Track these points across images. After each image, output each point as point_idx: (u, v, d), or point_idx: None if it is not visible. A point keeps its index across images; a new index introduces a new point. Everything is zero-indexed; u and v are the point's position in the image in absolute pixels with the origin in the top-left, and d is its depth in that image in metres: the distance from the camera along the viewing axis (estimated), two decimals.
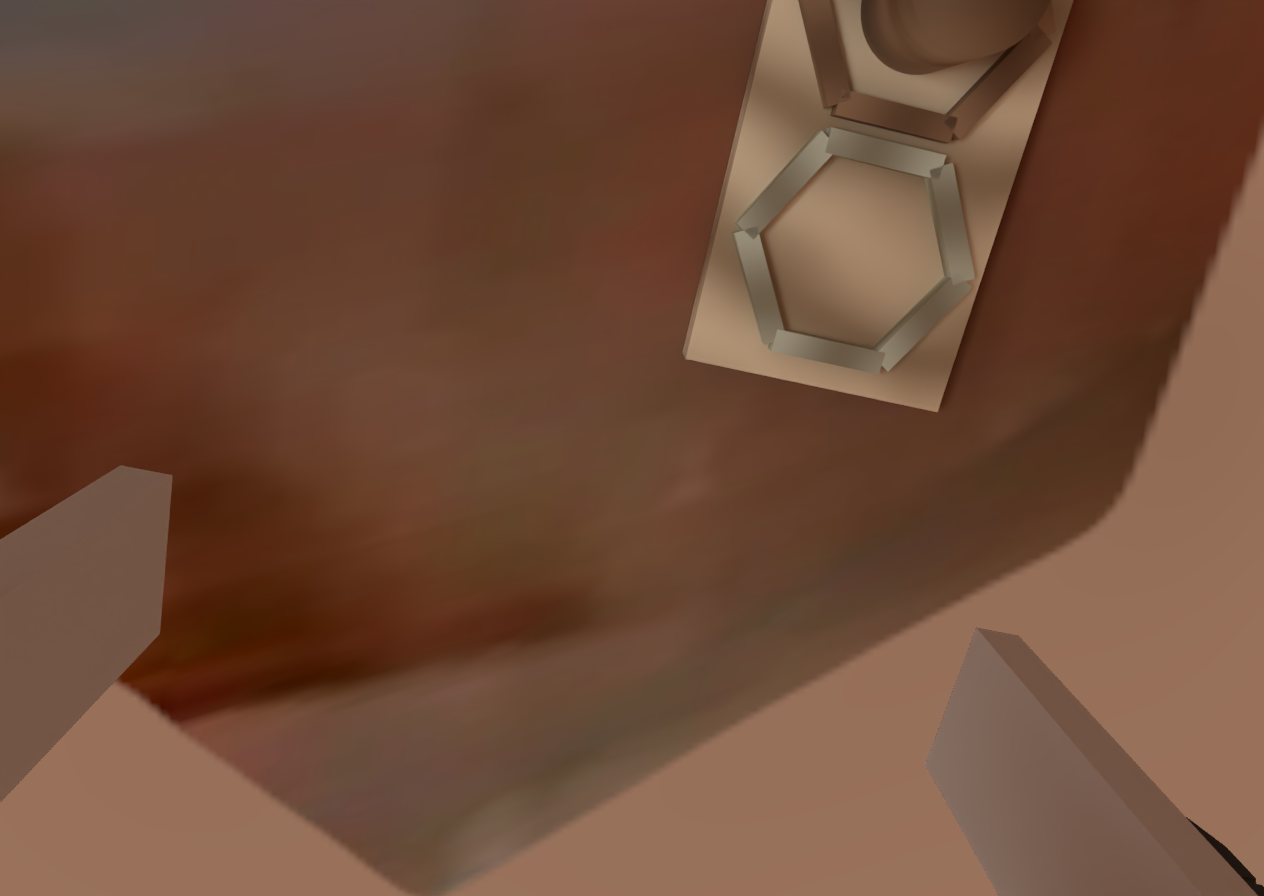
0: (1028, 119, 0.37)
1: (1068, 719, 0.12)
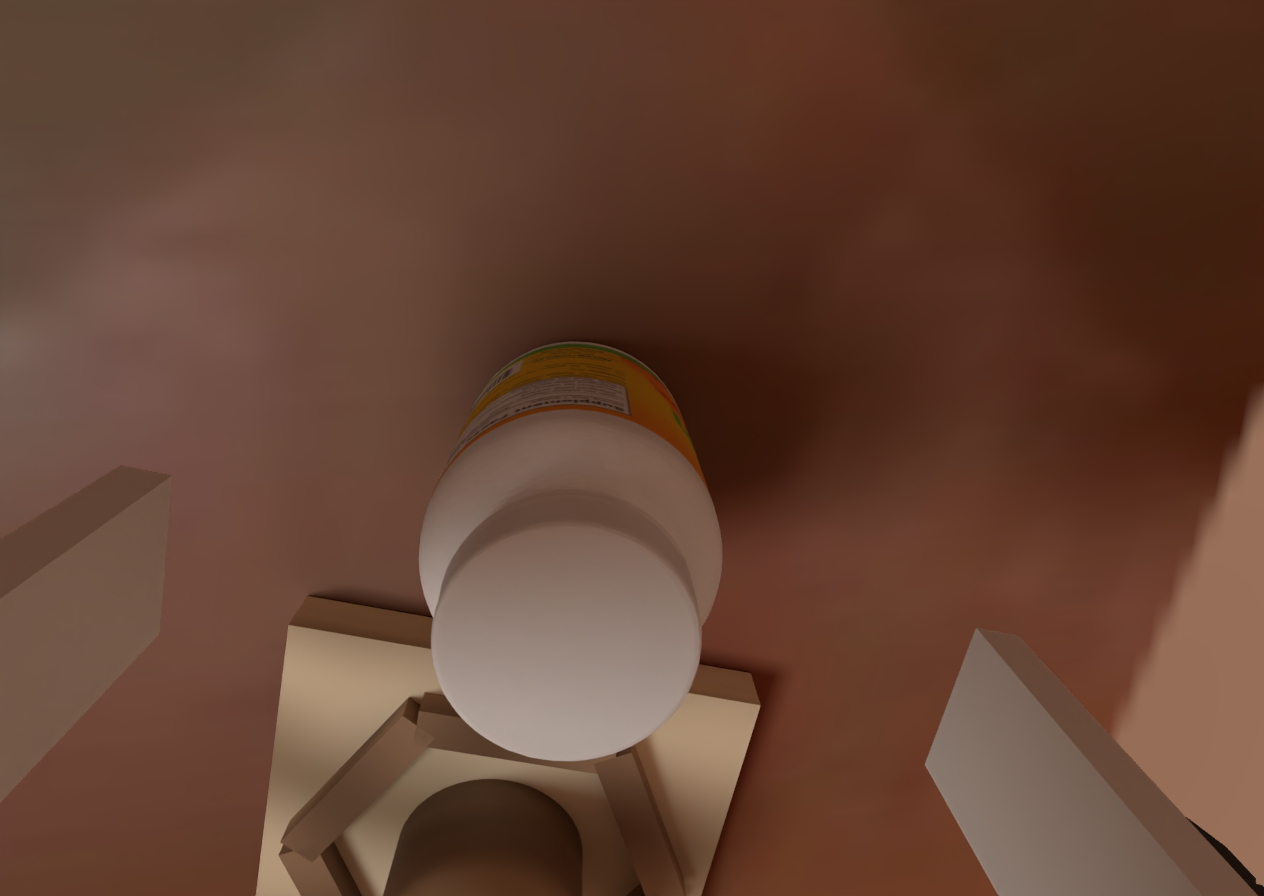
0: None
1: (1068, 719, 0.12)
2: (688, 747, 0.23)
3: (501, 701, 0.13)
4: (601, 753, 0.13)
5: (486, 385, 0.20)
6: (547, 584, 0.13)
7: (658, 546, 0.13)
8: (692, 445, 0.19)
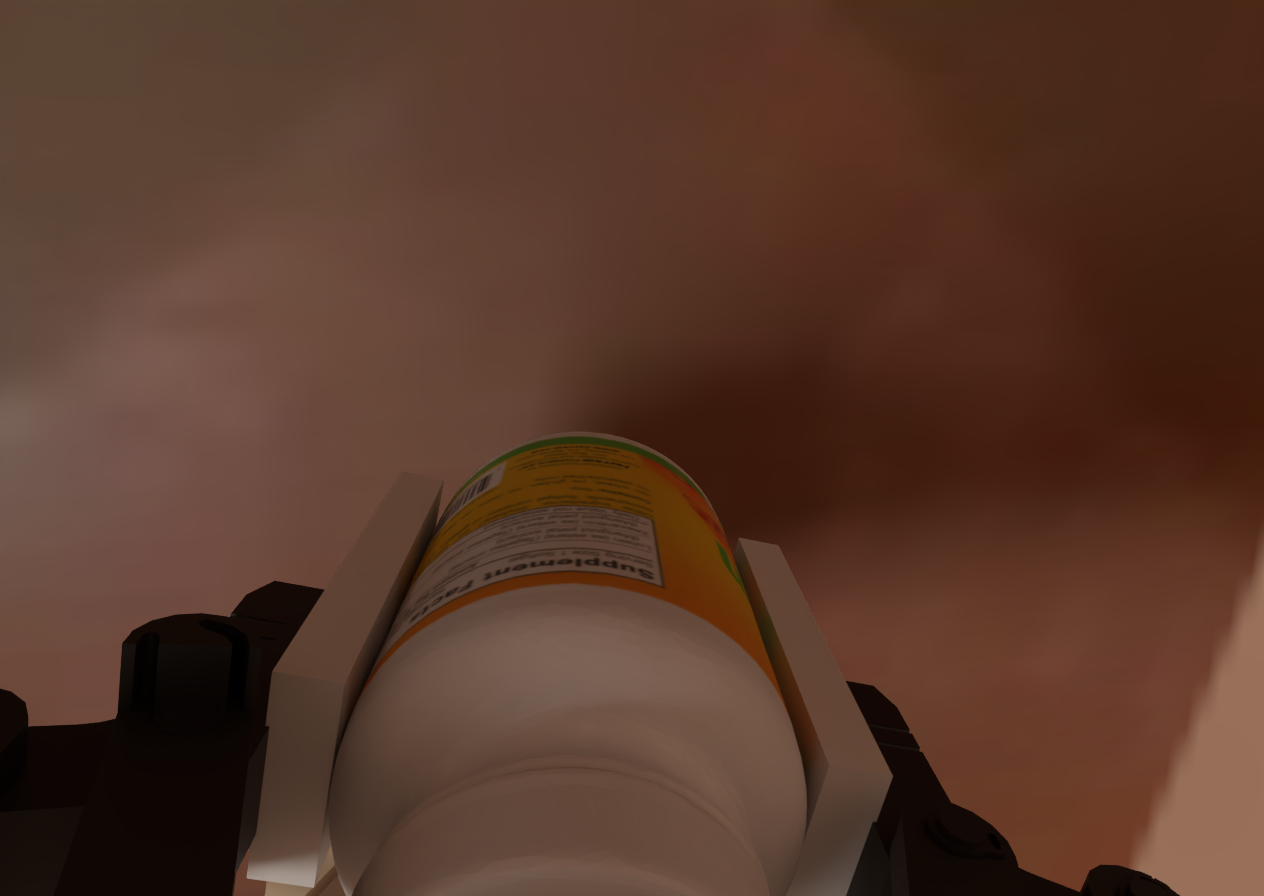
0: None
1: (779, 603, 0.14)
2: None
3: None
4: None
5: (457, 493, 0.15)
6: None
7: (723, 885, 0.07)
8: (746, 594, 0.13)
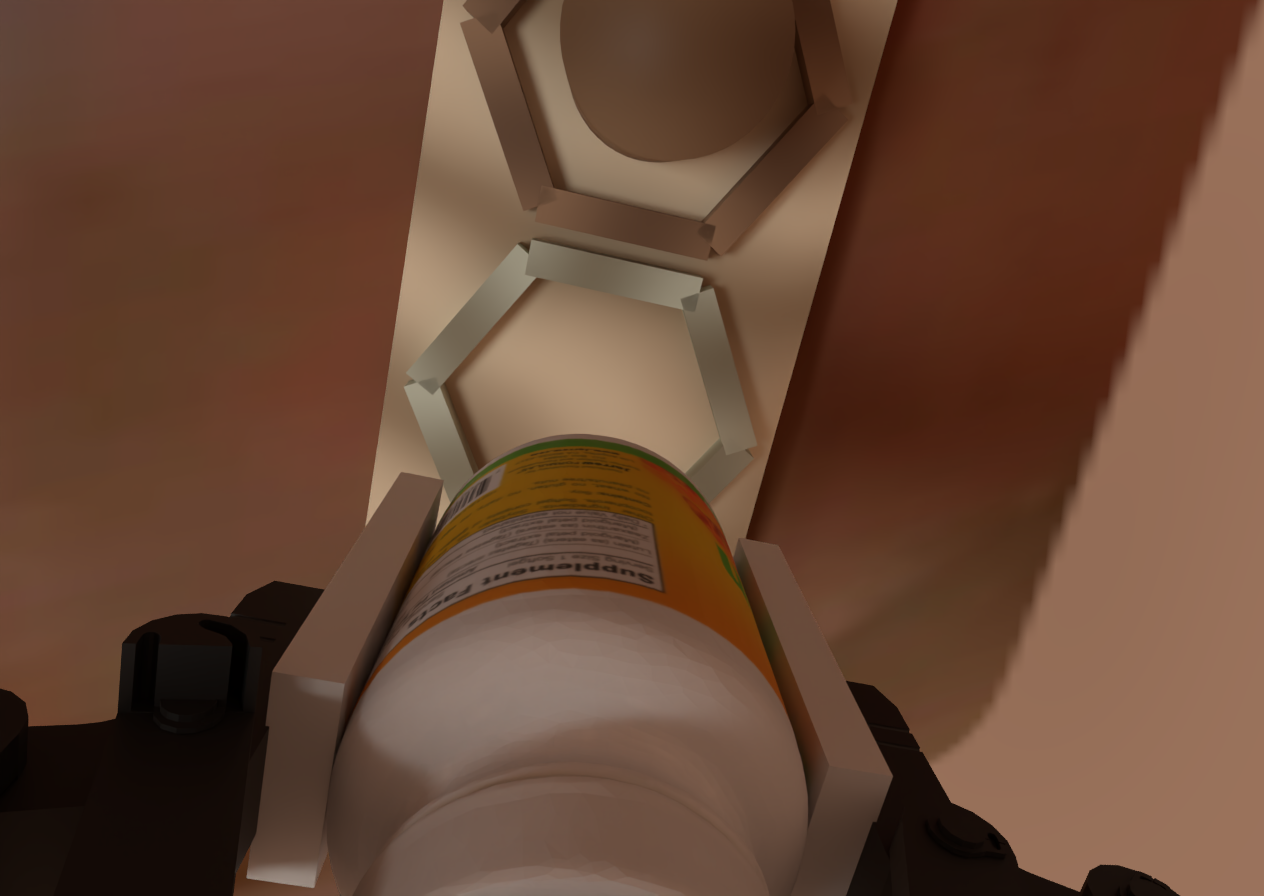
0: (825, 224, 0.26)
1: (779, 603, 0.14)
2: None
3: None
4: None
5: (456, 496, 0.15)
6: None
7: None
8: (747, 598, 0.13)
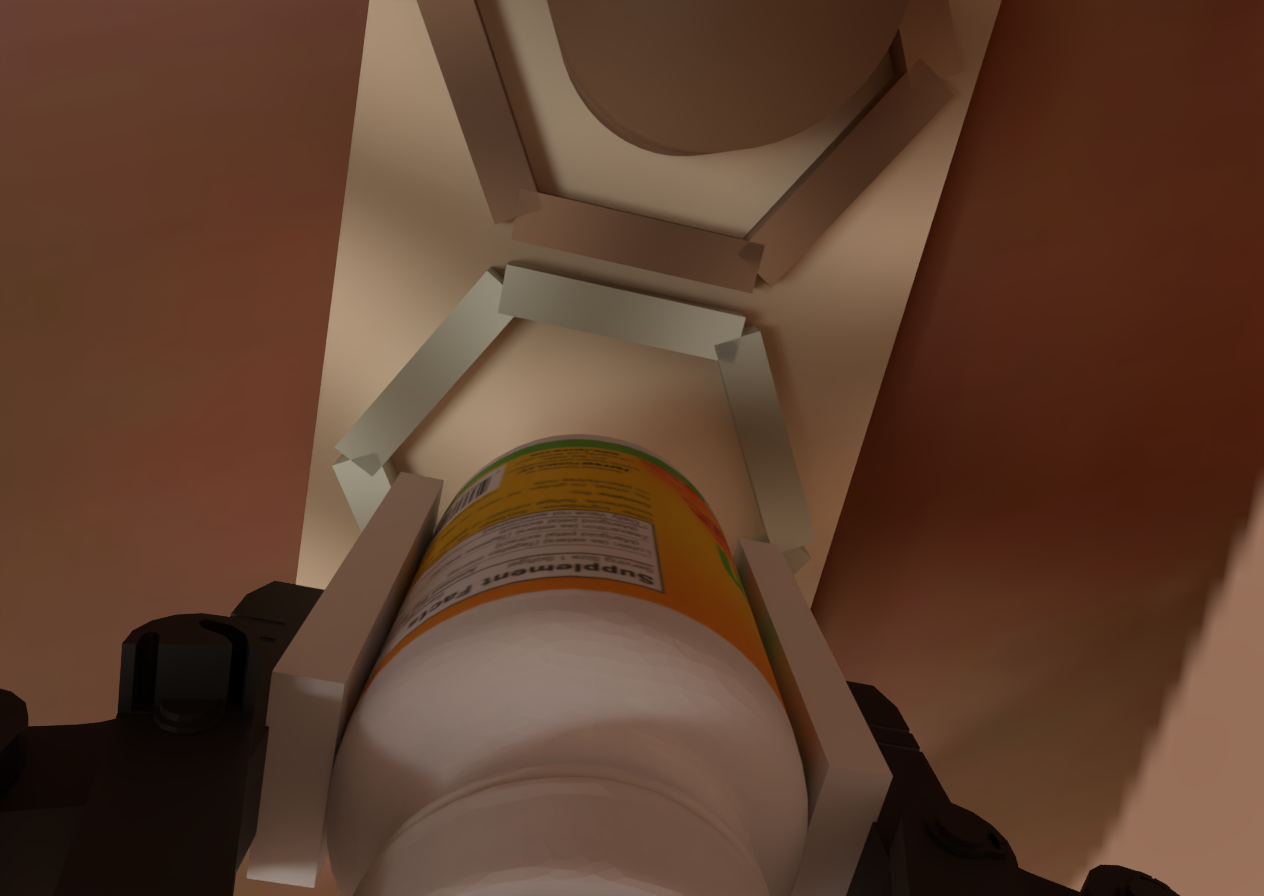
0: (914, 242, 0.19)
1: (780, 603, 0.14)
2: None
3: None
4: None
5: (456, 496, 0.15)
6: None
7: None
8: (746, 599, 0.13)
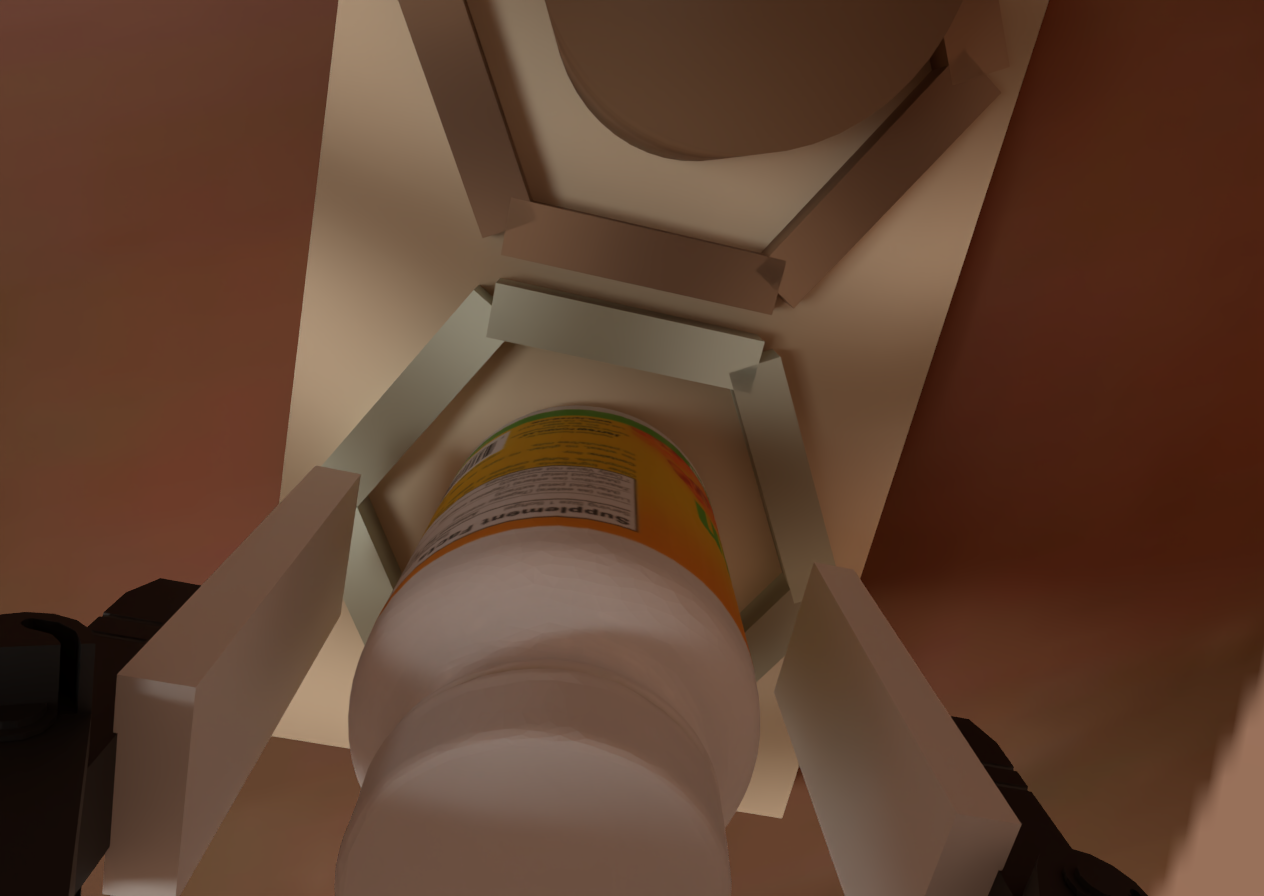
0: (952, 257, 0.17)
1: (869, 633, 0.13)
2: None
3: None
4: None
5: (466, 460, 0.17)
6: (501, 819, 0.08)
7: (668, 760, 0.09)
8: (721, 549, 0.14)
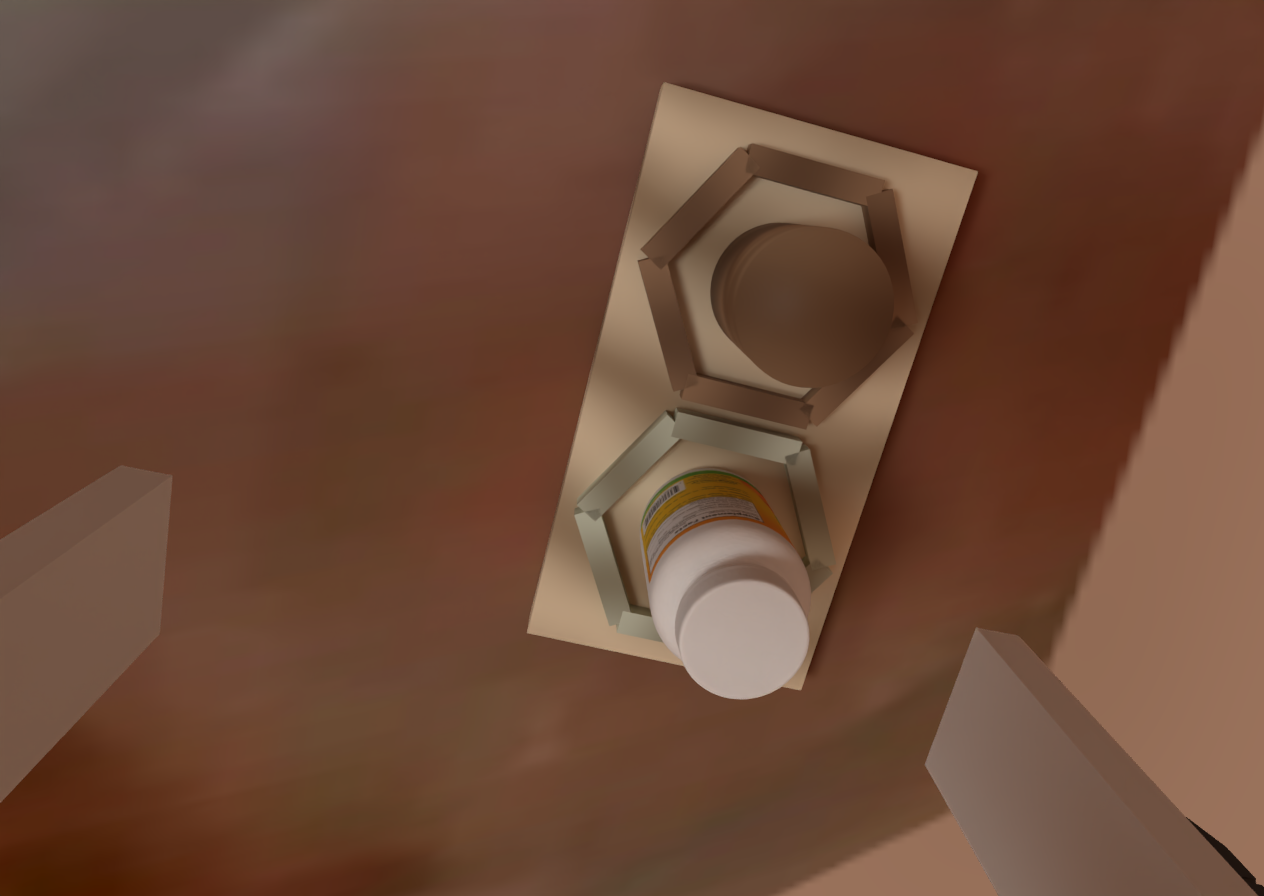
0: (892, 402, 0.35)
1: (1068, 719, 0.12)
2: (924, 204, 0.33)
3: (710, 666, 0.27)
4: (756, 695, 0.27)
5: (658, 493, 0.34)
6: (738, 609, 0.26)
7: (790, 592, 0.26)
8: None
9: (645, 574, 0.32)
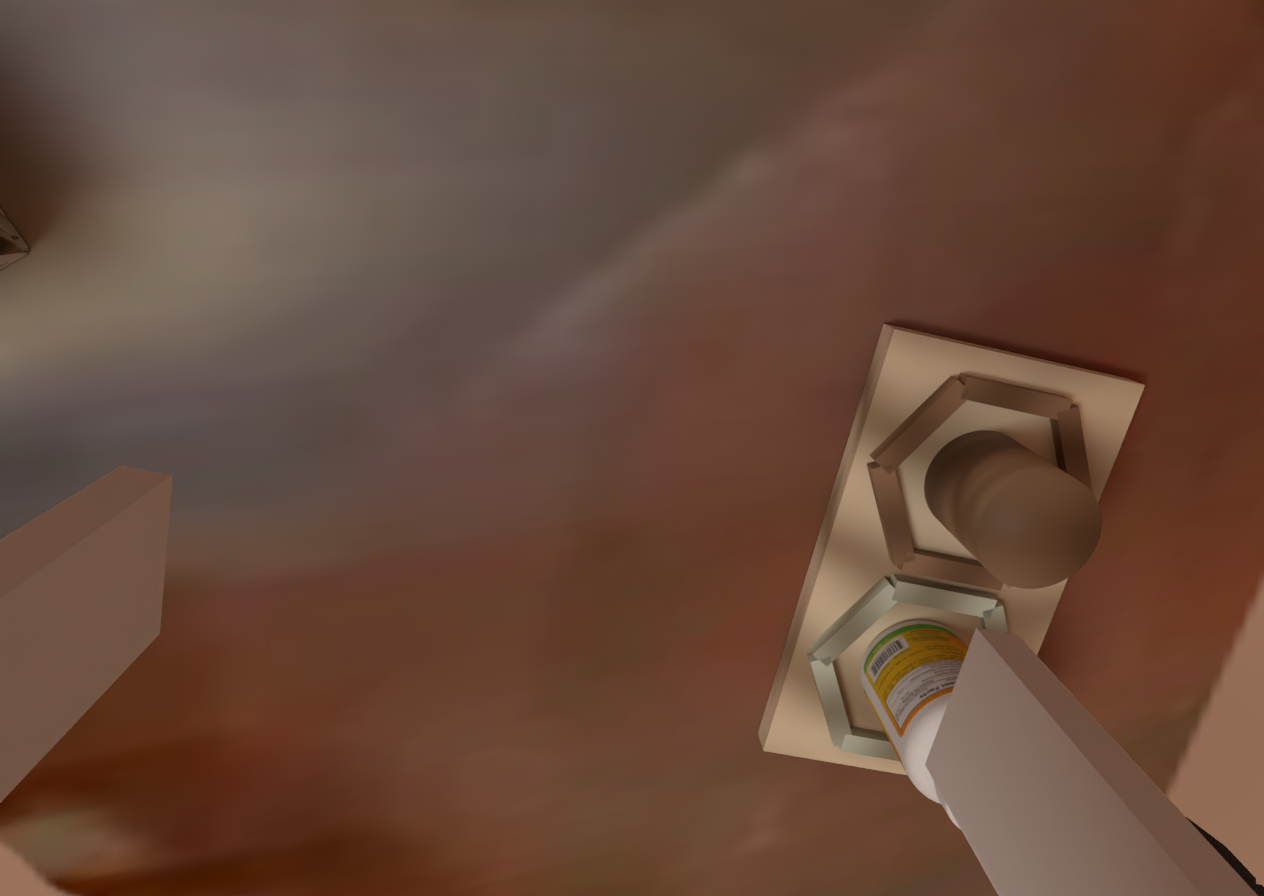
0: None
1: (1068, 719, 0.12)
2: (1100, 412, 0.40)
3: None
4: None
5: (880, 644, 0.42)
6: None
7: None
8: None
9: (885, 721, 0.40)
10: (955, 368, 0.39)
